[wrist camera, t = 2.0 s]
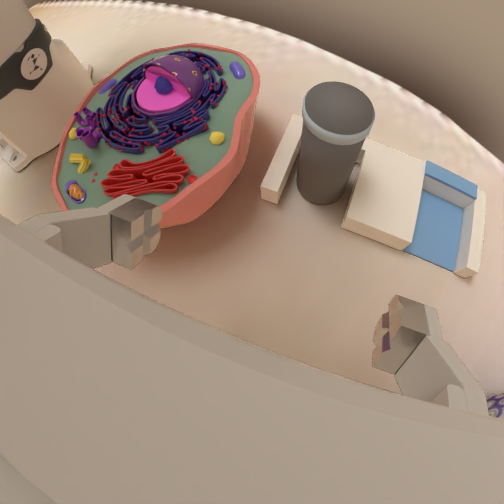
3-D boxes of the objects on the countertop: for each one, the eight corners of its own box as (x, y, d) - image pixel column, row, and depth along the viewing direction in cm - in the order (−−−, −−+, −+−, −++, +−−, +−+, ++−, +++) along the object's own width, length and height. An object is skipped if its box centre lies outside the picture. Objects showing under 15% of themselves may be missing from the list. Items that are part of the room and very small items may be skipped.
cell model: (66, 203, 30) (1, 154, 19) (181, 78, 34) (155, 6, 23) (172, 299, 27) (109, 273, 16) (301, 135, 30) (309, 49, 19)
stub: (288, 195, 28) (293, 119, 18) (304, 155, 29) (314, 73, 19) (337, 213, 28) (368, 144, 17) (350, 171, 29) (380, 94, 18)
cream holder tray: (261, 198, 28) (260, 184, 26) (292, 128, 30) (293, 110, 27) (464, 278, 25) (480, 272, 22) (474, 202, 27) (488, 191, 24)
